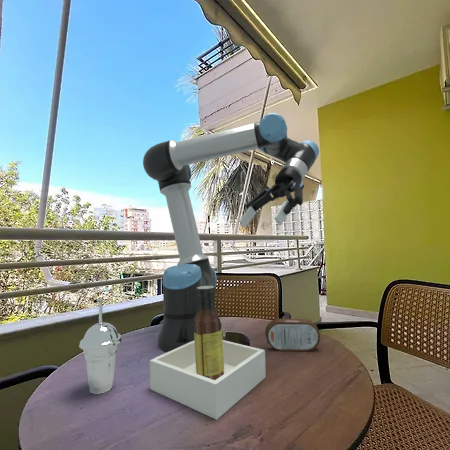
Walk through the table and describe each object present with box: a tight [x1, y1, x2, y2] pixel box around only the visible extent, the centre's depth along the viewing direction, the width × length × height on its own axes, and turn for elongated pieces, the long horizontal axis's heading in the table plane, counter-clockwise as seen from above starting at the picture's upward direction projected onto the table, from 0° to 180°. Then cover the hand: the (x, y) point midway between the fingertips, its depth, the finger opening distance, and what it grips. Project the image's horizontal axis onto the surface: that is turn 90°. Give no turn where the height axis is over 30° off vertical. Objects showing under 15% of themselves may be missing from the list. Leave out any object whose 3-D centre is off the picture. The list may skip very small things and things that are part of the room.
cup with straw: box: [78, 298, 123, 395], centre depth 60 cm, size 8×9×20 cm
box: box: [149, 339, 267, 421], centre depth 61 cm, size 18×18×6 cm
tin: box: [264, 318, 321, 352], centre depth 78 cm, size 15×3×8 cm, turn 84°
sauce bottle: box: [194, 286, 224, 380], centre depth 62 cm, size 6×6×20 cm
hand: (258, 223), depth 77 cm, fingers open, 13 cm apart
